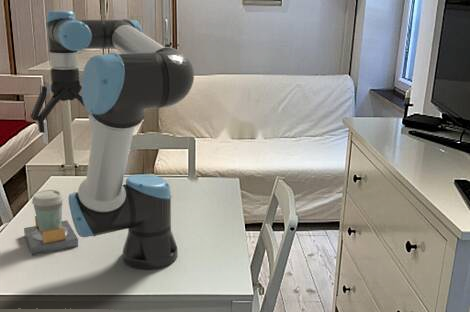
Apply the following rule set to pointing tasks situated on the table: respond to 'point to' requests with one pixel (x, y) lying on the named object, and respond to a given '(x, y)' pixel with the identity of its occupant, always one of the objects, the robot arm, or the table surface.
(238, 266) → the table surface
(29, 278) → the table surface
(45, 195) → the coffee cup
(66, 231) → the block
